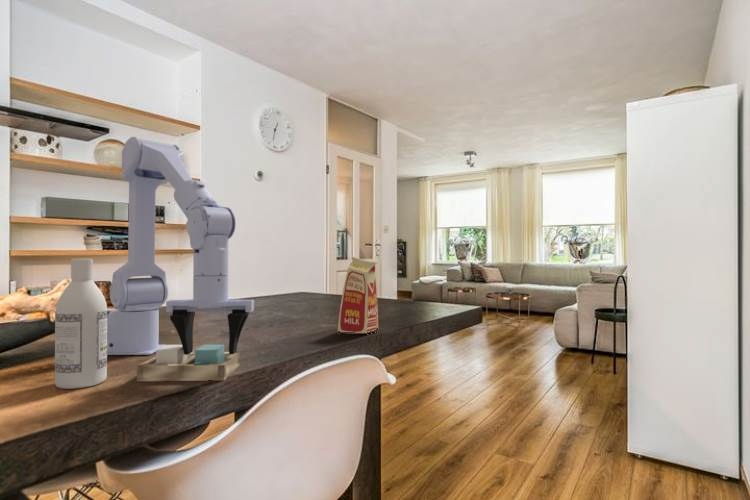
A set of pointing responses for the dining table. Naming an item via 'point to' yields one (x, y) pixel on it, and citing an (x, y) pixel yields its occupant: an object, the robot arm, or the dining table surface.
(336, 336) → the dining table surface
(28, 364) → the dining table surface
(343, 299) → the milk carton
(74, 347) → the bath foam
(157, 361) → the off-white plug
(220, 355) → the teal rectangular block
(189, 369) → the slot rack
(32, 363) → the dining table surface
